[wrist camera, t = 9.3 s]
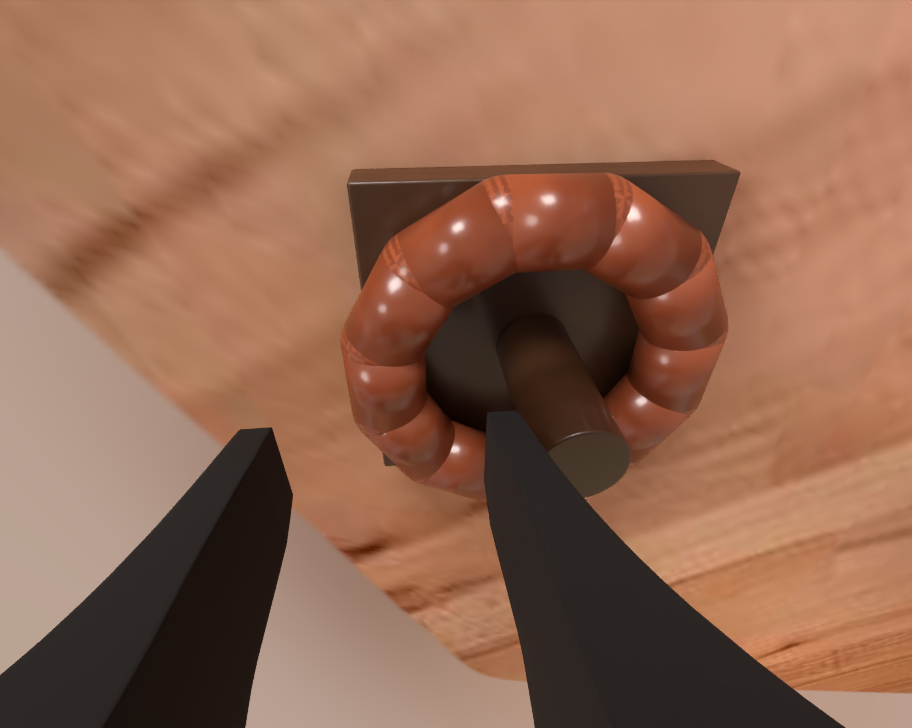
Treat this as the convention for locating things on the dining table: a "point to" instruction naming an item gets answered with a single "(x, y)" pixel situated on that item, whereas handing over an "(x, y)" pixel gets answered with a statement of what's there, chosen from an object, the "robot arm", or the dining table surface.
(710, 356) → the hoop
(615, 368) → the stand
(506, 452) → the robot arm
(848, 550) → the dining table surface
